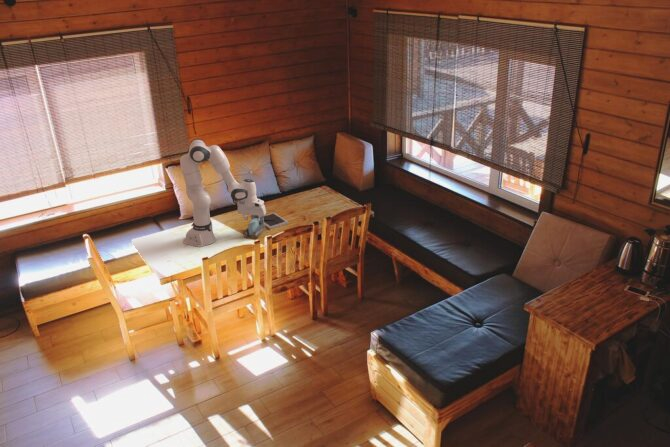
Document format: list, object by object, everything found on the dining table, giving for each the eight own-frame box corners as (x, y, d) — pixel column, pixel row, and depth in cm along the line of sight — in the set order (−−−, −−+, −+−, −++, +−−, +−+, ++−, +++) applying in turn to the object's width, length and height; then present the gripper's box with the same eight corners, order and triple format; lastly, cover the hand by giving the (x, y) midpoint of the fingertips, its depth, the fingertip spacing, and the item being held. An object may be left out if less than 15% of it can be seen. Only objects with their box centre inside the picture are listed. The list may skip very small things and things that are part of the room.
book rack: (243, 237, 402) (241, 220, 396) (252, 228, 415) (250, 211, 409) (257, 239, 400) (255, 221, 394) (265, 229, 413) (263, 212, 407)
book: (249, 234, 403) (247, 224, 399) (255, 227, 412) (254, 217, 409) (253, 235, 402) (252, 225, 398) (259, 228, 411) (258, 218, 408)
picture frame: (256, 220, 428) (269, 230, 413) (255, 217, 427) (269, 226, 411) (274, 214, 436) (288, 224, 420) (274, 211, 435) (288, 220, 419)
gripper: (235, 202, 397) (236, 220, 403) (262, 204, 391) (264, 223, 397) (238, 198, 402) (240, 216, 408) (266, 201, 397) (267, 219, 403)
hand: (252, 220), depth 403 cm, fingers open, 8 cm apart
